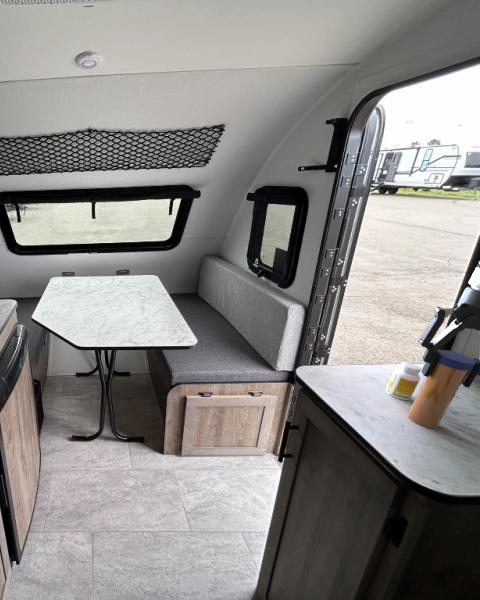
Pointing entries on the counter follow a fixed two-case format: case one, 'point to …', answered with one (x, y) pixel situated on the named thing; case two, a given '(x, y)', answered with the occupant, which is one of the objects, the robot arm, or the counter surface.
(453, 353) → the jar lid
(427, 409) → the jar
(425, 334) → the robot arm
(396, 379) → the supplement bottle
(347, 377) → the counter surface
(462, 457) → the counter surface
